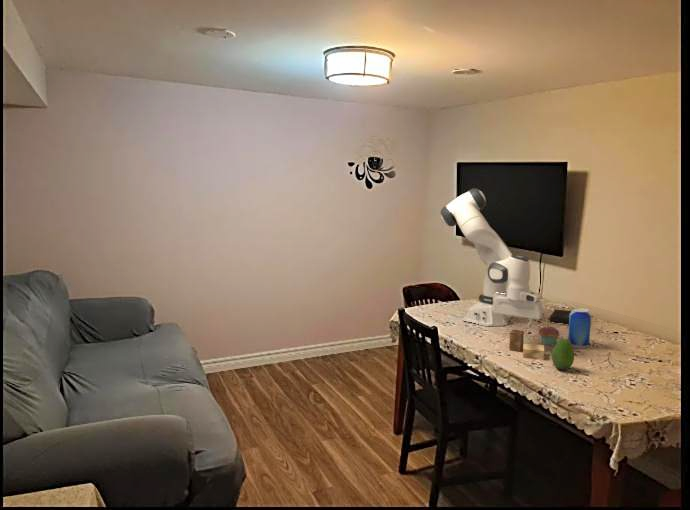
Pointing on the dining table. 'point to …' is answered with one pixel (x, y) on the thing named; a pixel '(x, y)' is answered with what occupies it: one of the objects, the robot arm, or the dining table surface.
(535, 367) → the dining table surface
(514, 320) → the dining table surface
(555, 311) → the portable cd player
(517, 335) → the walnut block
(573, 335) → the beer can
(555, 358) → the avocado
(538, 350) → the oak block
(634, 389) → the dining table surface
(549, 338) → the cupcake
